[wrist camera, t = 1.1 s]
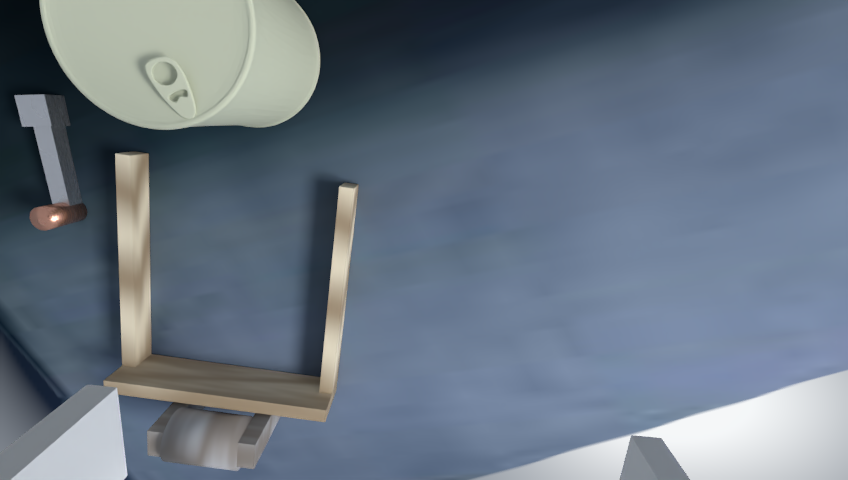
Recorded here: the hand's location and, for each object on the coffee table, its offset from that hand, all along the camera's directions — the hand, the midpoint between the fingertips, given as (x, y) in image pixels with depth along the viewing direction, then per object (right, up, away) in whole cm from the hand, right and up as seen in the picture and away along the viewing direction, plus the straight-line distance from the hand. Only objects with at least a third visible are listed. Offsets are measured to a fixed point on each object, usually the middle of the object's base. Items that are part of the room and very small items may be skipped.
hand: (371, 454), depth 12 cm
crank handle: (-24, +11, +20) cm, 34 cm away
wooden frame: (-13, +1, +23) cm, 26 cm away
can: (-10, +18, +19) cm, 28 cm away
